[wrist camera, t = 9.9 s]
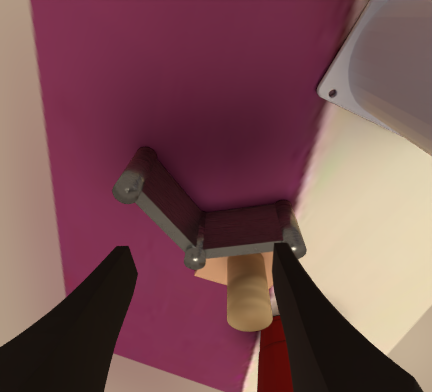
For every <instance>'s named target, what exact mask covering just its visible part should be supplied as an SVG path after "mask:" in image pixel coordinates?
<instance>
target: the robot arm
mask: <svg viewBox="0 0 432 392" xmlns="http://www.w3.org/2000/svg"><path fill="white" fill-rule="evenodd" d="M333 89H335V94H334V95H333V96H329V92H330V91H331V90H333ZM317 94H318V95H319V96H320V97H321V98H323V99H325V100H327V101H329V102H331V103H334V104H336V105H338V106H340V107H342V108H344V109H346V110H348V111H350V112H352V113H354V114H356V115H359V116H361V117H363V118H365V119H367V120H369V121H371V122H373V123H375V124H377V125H379V126H381V127H384V128H386V129H388V130H390V131H392V132H394V133H396V134H398V135H400V136H402V137H404V138H406V139H407V140H409V141H410V142H412V143H413V144H415V145H416V146H418V147H419V148H421V149H422V150H423V151H425V152H426V153H428V154H429V155H431V156H432V0H370V1H369V2H368V4H367V6H366V7H365V9H364V11H363V12H362V14H361V16H360V17H359V19H358V21H357V22H356V24H355V26H354V27H353V29H352V31H351V32H350V34H349V36H348V37H347V39H346V41H345V42H344V44H343V46H342V47H341V49H340V51H339V52H338V54H337V56H336V57H335V59H334V60H333V62H332V64H331V65H330V67H329V69H328V70H327V72H326V74H325V75H324V77H323V79H322V80H321V82H320V84H319V85H318V88H317ZM137 275H138V272H137V269H136V267H135V264H134V261H133V258H132V255H131V252H130V249H129V246H116V247H115V249H114V250H113V251H112V252H111V253H110V254H109V255H108V256H107V257H106V258H105V259H104V260H103V261H102V262H101V263H100V264H99V265H98V267H97V268H96V269H95V270H94V271H93V272H92V273H91V274H90V275H89V276H88V277H87V278H86V279H85V280H84V281H83V282H82V283H81V284H80V285H79V286H78V287H77V288H76V289H75V290H74V291H73V292H72V293H71V294H69V295H68V296H67V297H66V298H65V299H64V300H63V301H62V302H61V303H59V304H58V305H57V306H56V307H55V308H53V309H52V310H51V311H50V312H49V313H47V314H46V315H45V316H44V317H42V318H41V319H40V320H38V321H37V322H36V323H34V324H33V325H32V326H30V327H29V328H28V329H26V330H25V331H23V332H22V333H21V334H19V335H18V336H17V337H15V338H14V339H12V340H11V341H9V342H7V343H6V344H4V345H3V346H1V347H0V392H104V388H105V384H106V380H107V375H108V371H109V367H110V363H111V359H112V355H113V351H114V348H115V344H116V341H117V338H118V335H119V332H120V329H121V327H122V324H123V321H124V318H125V316H126V313H127V310H128V307H129V304H130V302H131V299H132V296H133V293H134V289H135V285H136V280H137ZM272 278H273V286H274V293H275V297H276V301H277V305H278V310H279V314H280V318H281V322H282V326H283V330H284V334H285V339H286V344H287V350H288V357H289V363H290V370H291V378H292V385H293V392H423V391H422V389H421V387H420V386H419V384H418V383H417V381H416V380H415V378H414V377H413V376H411V375H410V374H409V373H408V372H406V371H405V370H404V369H402V368H401V367H400V366H399V365H397V364H396V363H395V362H393V361H392V360H391V359H390V358H388V357H387V356H386V355H385V354H384V353H382V352H381V351H380V350H379V349H378V348H376V347H375V346H374V345H373V344H372V343H371V342H370V341H368V340H367V339H366V338H365V337H364V336H363V335H362V334H361V333H360V332H359V331H358V330H357V329H355V328H354V327H353V326H352V325H351V324H350V323H349V322H348V321H347V320H346V319H345V318H344V317H343V316H342V315H341V314H340V313H339V312H338V310H337V309H336V308H335V307H334V306H333V305H332V304H331V303H330V302H329V300H328V299H327V298H326V297H325V296H324V295H323V293H322V292H321V291H320V290H319V288H318V287H317V286H316V285H315V283H314V282H313V281H312V279H311V278H310V277H309V275H308V274H307V272H306V271H305V270H304V268H303V267H302V265H301V264H300V262H299V261H298V259H297V258H296V256H295V254H294V253H293V251H292V249H291V247H290V246H289V244H288V243H274V248H273V261H272Z"/></svg>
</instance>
